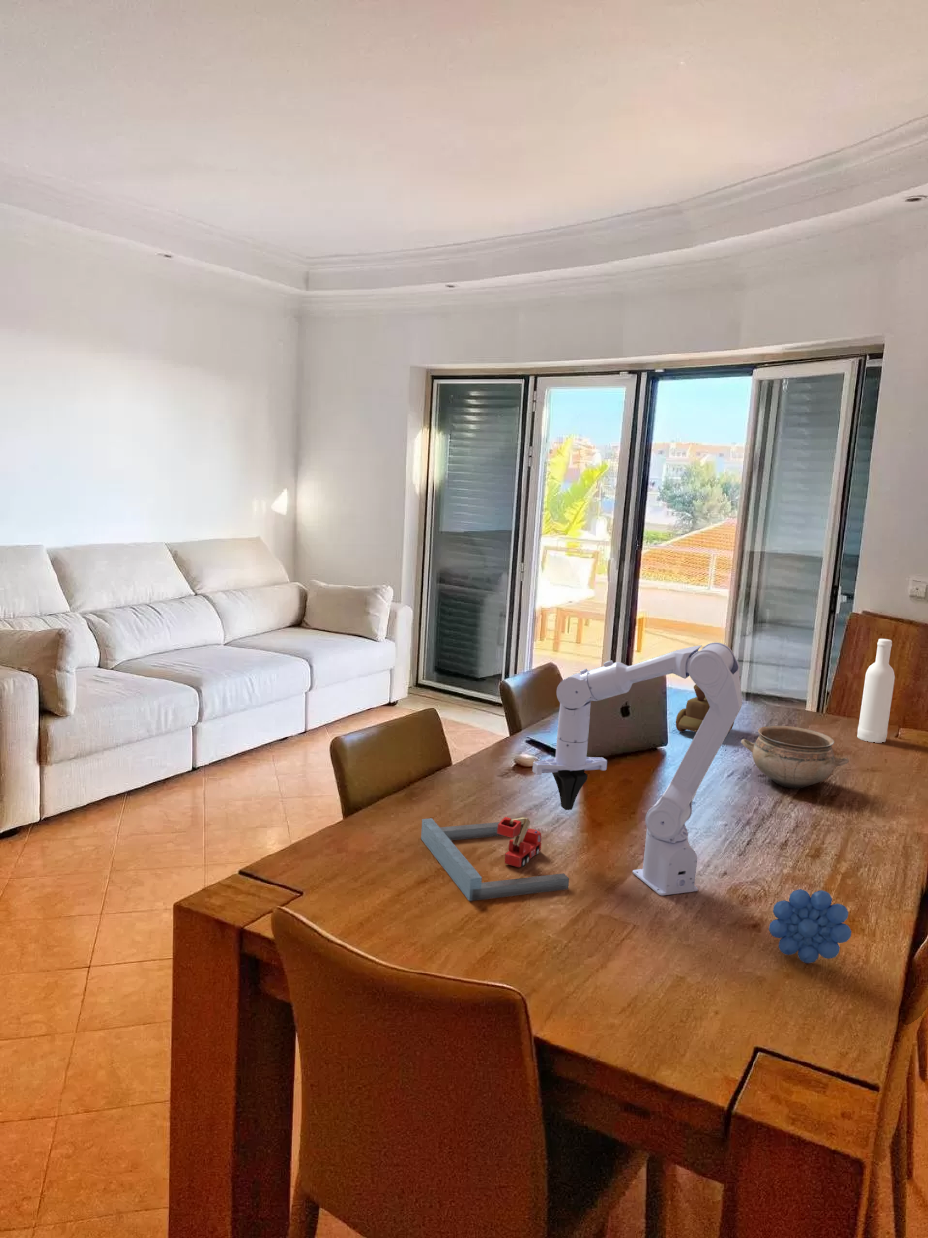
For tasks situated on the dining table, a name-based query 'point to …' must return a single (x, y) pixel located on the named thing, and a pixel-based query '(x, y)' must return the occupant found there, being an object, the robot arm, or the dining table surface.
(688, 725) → the wooden toy train
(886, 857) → the dining table surface
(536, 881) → the garage
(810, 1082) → the dining table surface
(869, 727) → the bottle
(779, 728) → the cooking pot
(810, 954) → the blue beaded flower
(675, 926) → the dining table surface
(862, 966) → the dining table surface
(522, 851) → the toy fire truck
